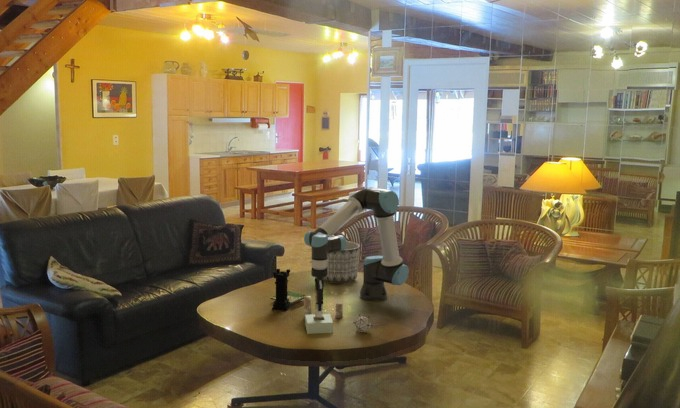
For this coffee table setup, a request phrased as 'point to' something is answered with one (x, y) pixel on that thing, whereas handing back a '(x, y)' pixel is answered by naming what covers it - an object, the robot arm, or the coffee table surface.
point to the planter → (343, 264)
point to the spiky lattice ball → (362, 324)
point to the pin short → (339, 310)
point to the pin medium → (307, 305)
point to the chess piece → (281, 290)
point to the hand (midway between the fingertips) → (319, 315)
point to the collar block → (318, 324)
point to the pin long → (316, 308)
